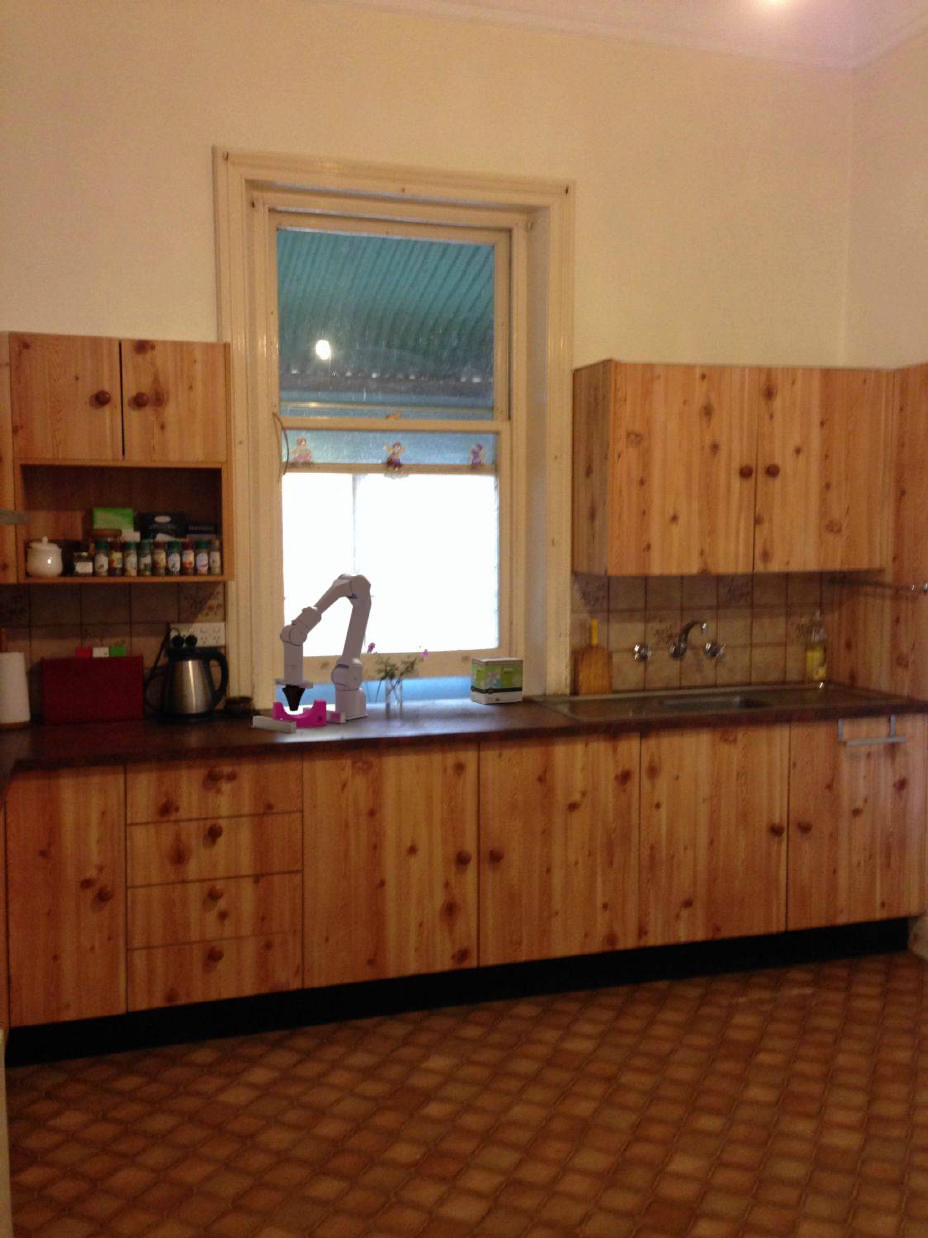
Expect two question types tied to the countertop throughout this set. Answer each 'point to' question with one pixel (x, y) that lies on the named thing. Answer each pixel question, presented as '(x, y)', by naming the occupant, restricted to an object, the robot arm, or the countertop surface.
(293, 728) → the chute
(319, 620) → the robot arm
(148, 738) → the countertop surface
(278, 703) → the toy block
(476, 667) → the tea box
